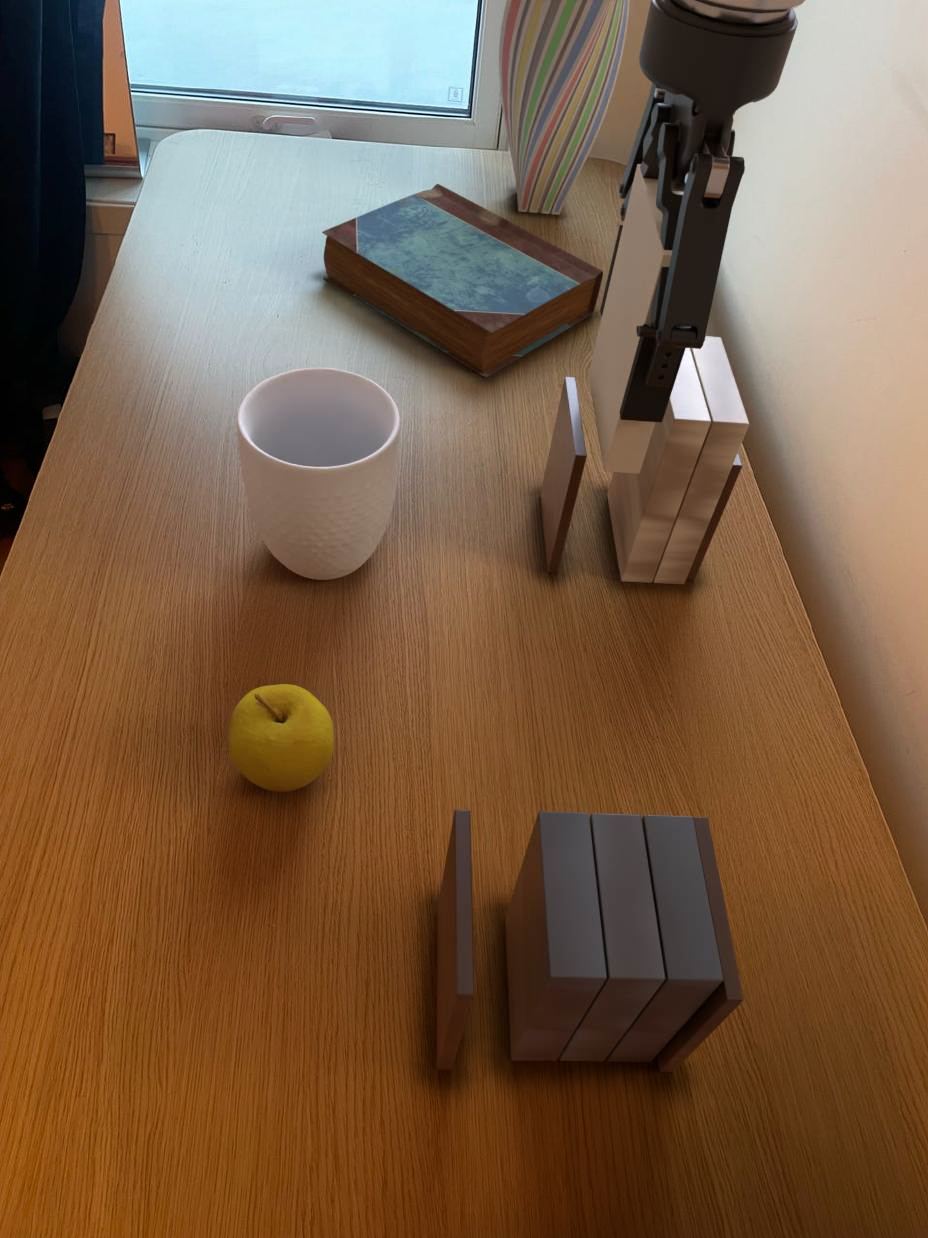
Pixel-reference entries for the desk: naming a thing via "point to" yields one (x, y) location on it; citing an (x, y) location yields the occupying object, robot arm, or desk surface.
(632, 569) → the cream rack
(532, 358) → the desk surface
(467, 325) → the book
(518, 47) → the vase
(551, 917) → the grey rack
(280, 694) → the apple
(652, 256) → the cream book
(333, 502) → the mug
